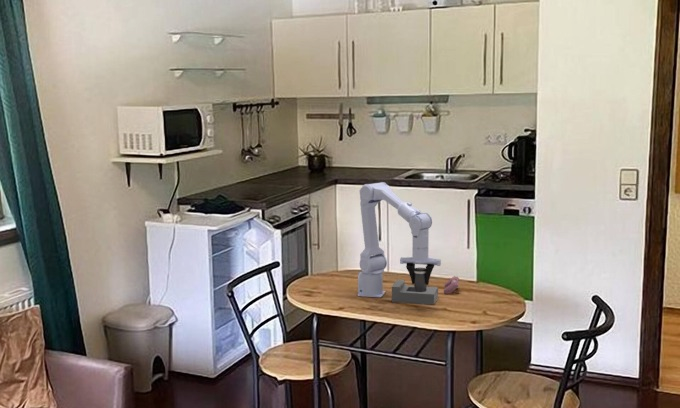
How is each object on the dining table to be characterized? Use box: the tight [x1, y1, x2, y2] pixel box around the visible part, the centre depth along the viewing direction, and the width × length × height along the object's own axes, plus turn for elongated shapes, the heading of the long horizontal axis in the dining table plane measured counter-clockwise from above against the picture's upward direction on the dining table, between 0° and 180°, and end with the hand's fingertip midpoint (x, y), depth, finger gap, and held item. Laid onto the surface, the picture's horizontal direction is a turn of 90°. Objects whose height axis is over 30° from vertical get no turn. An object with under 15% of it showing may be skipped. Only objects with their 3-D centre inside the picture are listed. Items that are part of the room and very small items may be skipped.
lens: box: [413, 267, 428, 292], centre depth 253 cm, size 5×5×8 cm
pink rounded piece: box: [443, 275, 460, 295], centre depth 276 cm, size 10×5×7 cm, turn 169°
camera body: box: [391, 279, 439, 306], centre depth 265 cm, size 16×10×6 cm, turn 74°
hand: (420, 283), depth 253 cm, fingers closed on lens, 4 cm apart
